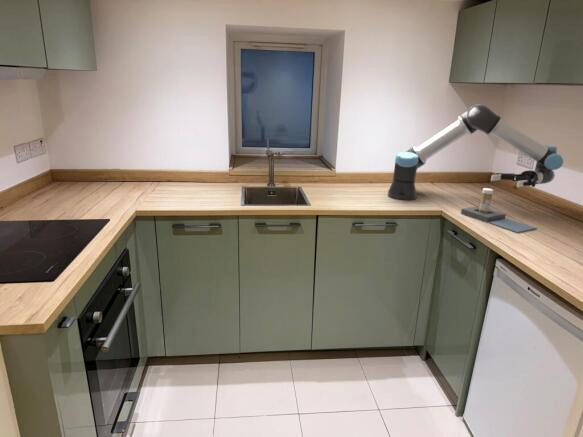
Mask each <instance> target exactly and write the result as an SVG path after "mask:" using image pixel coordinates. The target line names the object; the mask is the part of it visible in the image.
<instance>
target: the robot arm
mask: <svg viewBox="0 0 583 437" xmlns="http://www.w3.org/2000/svg"><path fill="white" fill-rule="evenodd" d="M477 131H480V132H483V133H485V134H486V135H487V136H489V135H492V136H494V137H496V138H497V139H499V140H500V141H502V142H504V143H506V145H508V146H510V147H512V148H514V149H516V150H517V151H519V152H520V153H522V154H523V155H526V156H527V157H529V158H531V159H532V160H533V161H535V162H536V163H535V167H534V169H529V170H523V171H522V172H521V173H518V174H517V173H514V172H513V173H511V172H510V173H508V172H507V173H503V172H502V173H501V172H497V173H495V174H492V175H491V178H490V182H495V181H500V180H505V181H511V182H517V183H516V187H517V188H521V187H530V186H531V187H532V188H534V187H536V185H544V184H547V183H551V182H553V180H555V179H554V178H555V176H556V174H555V170H558V169H560V168H561V167H563V165H564V159H563V157H562V155H561V154H560V153H557V152H558V151H557V150H558V147H557V146H555V145H550V144H548V145H547V144H546V145H545V144H544V145H543V144H541V143H540V142H538V141H536V140H535V139H533V138H531V137H530V136H528V135H526V134H525V133H523V132H522V131H520V130H518V129H516V128H515V127H513V126H511V125H510V124H508V123H506V122H505V121H503V120H502V117H501V116H500V115H497V114H496V113H495V112H494V111H493V110H492V109H491V108H490V107H488V106H487V105H485V104H479V103H478V104H474V105H472V106H470V107H469V108H468V109H467V110H466V111H464V112H463V113H461V114H459V115H458V117H457V120H456V121H455V122H452V123H451V124H450V125H448V126H447V127H446V128H444V129H443V130H441V131H439V132H437V133H436V134H435V135H434V136H432V137H431V138H429V139H428V140H426V141H425V142H423V143H421V144H420V145H418V146H415V145H414V146H412V147H411V148H410V149H408V150H406V151H401V152H398V153H397V154H396V156H395V158H394V161H395V162H394V170H393V176H392V178H393V179H392V182H391V185H390V187H389V189H388V191H387V196H389V198H392V199H397V200H405V201H406V200H407V201H408V200H409V201H410V200H411V201H412V200H416V199H417V190H416V176H417V171H418V169H419V168H421V167H422V166H424V165H425V164H427V160H429V159H431V157H433V156H434V155H437V154H438V153H439V152H441V151H442V150H443V149H445V148H447V147H448V146H450V145H452V144H453V143H455V142H456V141H458V140H460V138H462V137H463V136H465V135H467V134H468V135H472V134H474V133H475V132H477Z"/></svg>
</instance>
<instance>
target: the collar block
mask: <svg viewBox="0 0 583 437" xmlns="http://www.w3.org/2000/svg"><path fill="white" fill-rule="evenodd" d="M479 207H480V205H477V206H471V207H465V208H461V211H460V214H461V215H464V216H467V217H469V218H472V219H475V220H478V221H480V220H481V221H480V222H483V221H484V223H488V222H491V221H496V220H501V219H506V217H507V213H505V212H501V211H498V210H495V209H491V208H489V212H488V214H483V213H480V212H479Z"/></svg>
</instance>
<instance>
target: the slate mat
mask: <svg viewBox="0 0 583 437" xmlns="http://www.w3.org/2000/svg"><path fill="white" fill-rule="evenodd" d="M487 223H488V224H489V223H490V224H489V225H493V226H496V227H498V228H501V229H504V230H507V231H510V232H512V233H515V234H519V233H524V232H530V231H533V230H537V227H535V226H534V225H533V226H532V225H529V224H525V223H523V222H520V221H517V220H513V219H511V218H505V219H501V220H496V221H491V222H487Z"/></svg>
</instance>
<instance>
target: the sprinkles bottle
mask: <svg viewBox="0 0 583 437" xmlns="http://www.w3.org/2000/svg"><path fill="white" fill-rule="evenodd" d="M481 194H482V195H481V198H480V203H479V206H480V207H479V212H480V213H483V214H488V212H489V209H491V204H492V203H491V202H492V197H493V195H494V189H492V188H488V187H484V188H483V189H482V193H481Z"/></svg>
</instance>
